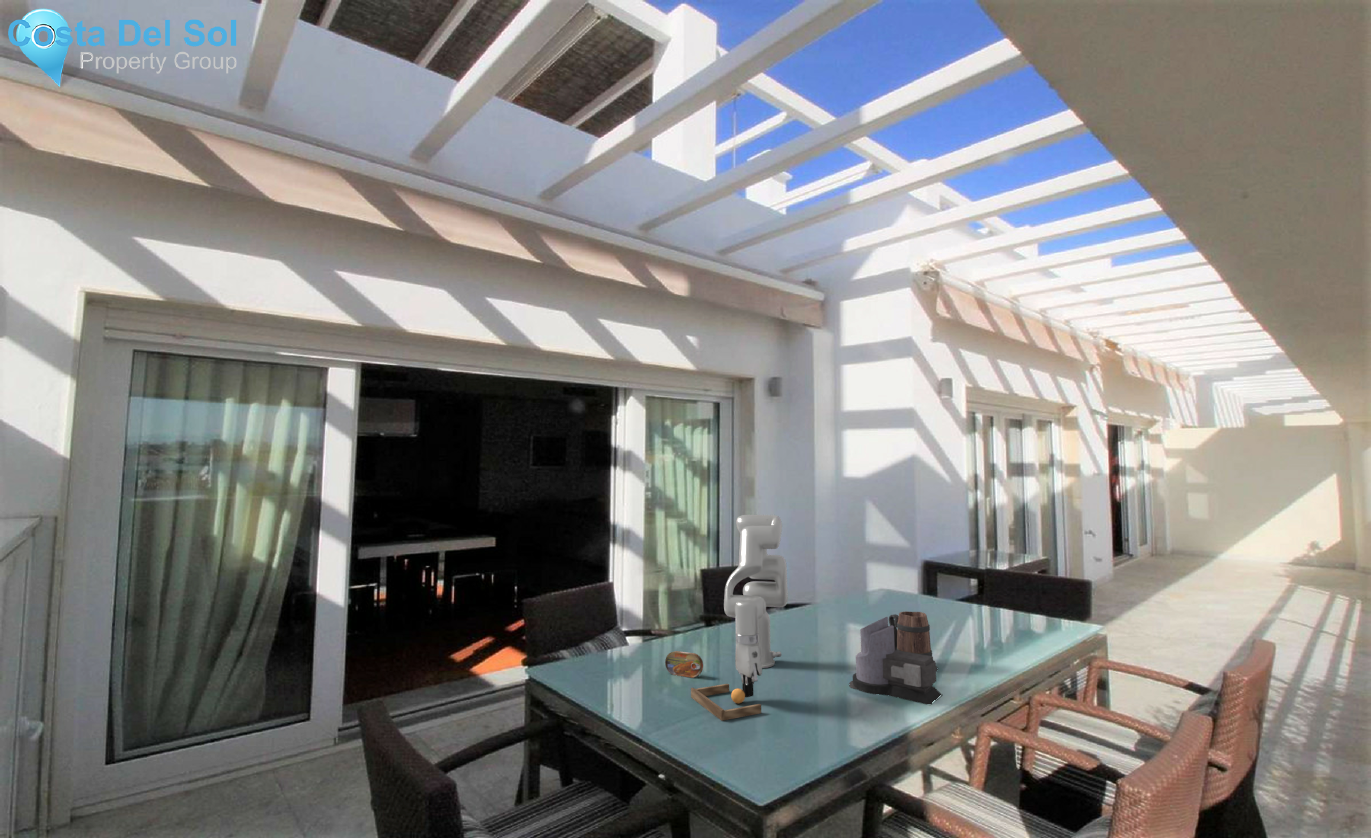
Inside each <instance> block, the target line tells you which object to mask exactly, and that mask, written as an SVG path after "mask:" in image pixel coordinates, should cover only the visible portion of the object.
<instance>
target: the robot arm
mask: <svg viewBox="0 0 1371 838" xmlns="http://www.w3.org/2000/svg"><path fill="white" fill-rule="evenodd" d="M735 522H736V528H737V531H738V533H739V548H738V549H739V554H738V566H737V568H735V570H734V571H732V573H731V574H730V575H729V577H728V578H727V581H726V583H725V587H724V599H723V609H724V614H725V615H726V616H727V617H729V618H735V656H734V657H735V658H734V659H735V669H736V671H737V672H738V674H739V675H740V677H741V678H740V679H741V684H742V685H741V687H742V689H741V690H743V691H744V693H745V698H749V697H754V685H755V682H758V680H759V679H758V676H762V673H763V669H767V668H771V667H773V666H775V664H776V661H775V658H780V657H782V651H775V650H771V619H770V618H771V617H770V615H769V613H768V612H767V608H768V607H769V608H770V607H771V608H782V607H785V606H786V605H787V603H788V599H789V596H788V595H789V592H788V569H787V562H786V559H785V557H784V556H782V555H779V554H768V550H777V549H778V548H779V547H780V544H781V540H782V539H781V537H782V531H783V523H782V519H781V517H780V516H779V515H776V514H742V515H739V516H738V517H737V518H736V521H735ZM747 578H750V579H752V580H755V581H750V582H747V583H746V584H744V586H743V588H742V594H743V595H742V594H734V589H735V587H736V586H737V584H738V583H741V581H742V580H745V579H747ZM756 580H759V581H756ZM760 580H772V581H760Z"/></svg>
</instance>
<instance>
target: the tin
mask: <svg viewBox="0 0 1371 838" xmlns="http://www.w3.org/2000/svg"><path fill="white" fill-rule="evenodd" d="M664 661H665V662H664V663H665V665H664V666H665V669H666V670H667V672H668V673H669V674H670V675H673V676H676V675H677V676H676V677H685V678H690V679H692V678H693V679H694V678H697V677H698V676H700V674H702V672H703V671H704V670H703V669H704V662H703V659H702V658H701V656H700V655H699V654H697V653H695V652H694V653H693V652H686V651H680V650H679V651H678V650H675V651H670V653H668V654H667V655H666V656H665V660H664Z"/></svg>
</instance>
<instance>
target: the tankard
mask: <svg viewBox="0 0 1371 838" xmlns="http://www.w3.org/2000/svg"><path fill="white" fill-rule="evenodd" d="M927 616H928V615H927V614H926V613H925V612H923V611H922V612H921V611H907V610H905V611H900V612H899V613H898V614H896V613H895V614H890V615H889V616H888V625H889V626H891V625H893V626H894V647H895V650H899V651H905V652H910V653H916V654H922V655H927V656H933V651H932V647H931V645H932V644H931V633H930V630H931V629H930V627H931V626H930V624H929V620H928V617H927ZM937 668H938V669H937ZM937 670H938V671H939V667H938V666H937V665H936V672H938V671H937Z"/></svg>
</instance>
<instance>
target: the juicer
mask: <svg viewBox="0 0 1371 838" xmlns="http://www.w3.org/2000/svg"><path fill="white" fill-rule="evenodd" d="M859 631H860V652H858V653H856V655H855V673H853V674H852V680H851V681H850V682H849V683H848V687H849V688H850V689H853V690H857V691H859V692H861V693H865V694H866V693H867V694H870V695H876V694H879V695H880V696H888V695H889V697H891V698H892V697H893V698H897V697H899V698H898V699H902V700H906V701H910V702H915V703H919V704H924V705H927V704H931V705H933V704H932V702H933V701H934V700H936V699H937V698H938V697H939V696H940V695H941V694H942V693H941V692H940V691H939V690H938V689H937V688H936V687H935V686H933V685H934V684H935V683H936V682H937V671H936V666H937V665H936V663H937V662H936V661H935V660H934V656H933V655H932V656H927V655H922V654H916V653H910V652H905V651H899V650H895V647H894V626H893V625H891V626H890V625H889V616H885V617H883V618H881V619H879V620H876V621H874V622H873V623H871V624H868V625H866V626H864V627H862V628H861V629H860V630H859ZM849 684H850V685H849ZM883 694H885V695H883ZM879 695H878V696H879ZM937 700H938V699H937ZM937 700H936V701H937Z"/></svg>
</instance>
